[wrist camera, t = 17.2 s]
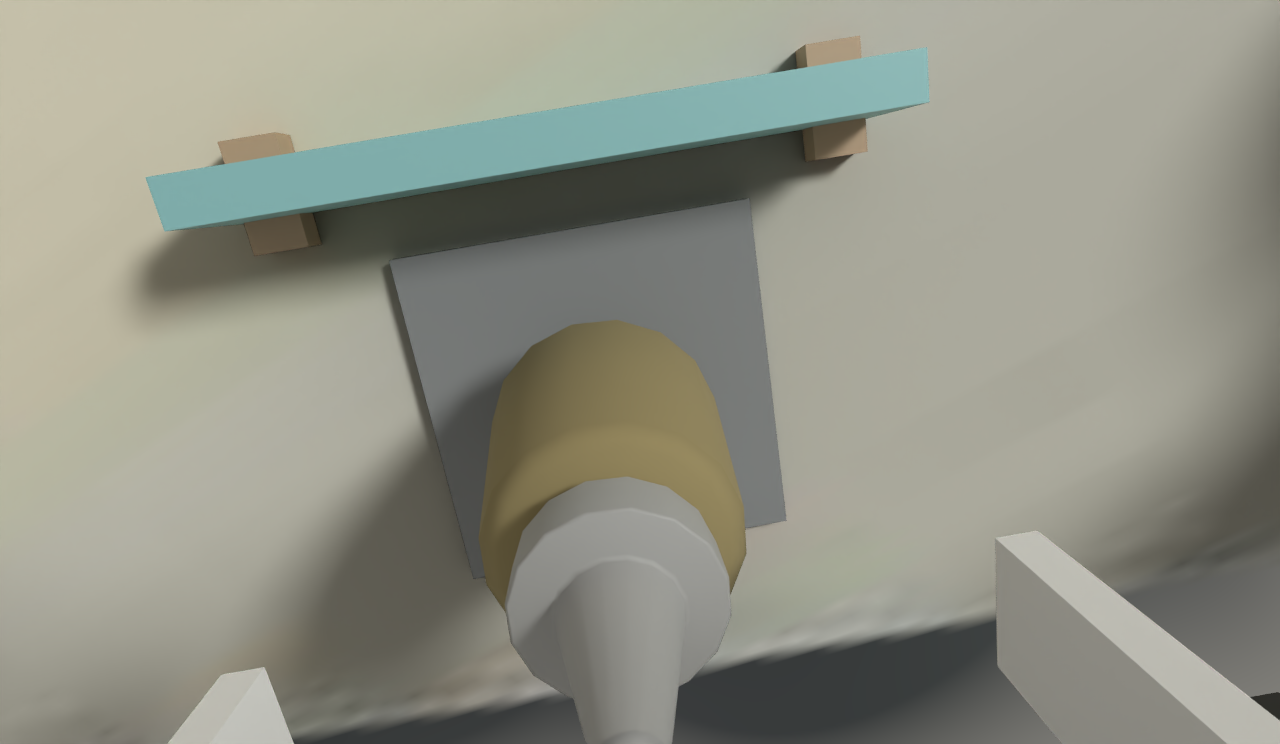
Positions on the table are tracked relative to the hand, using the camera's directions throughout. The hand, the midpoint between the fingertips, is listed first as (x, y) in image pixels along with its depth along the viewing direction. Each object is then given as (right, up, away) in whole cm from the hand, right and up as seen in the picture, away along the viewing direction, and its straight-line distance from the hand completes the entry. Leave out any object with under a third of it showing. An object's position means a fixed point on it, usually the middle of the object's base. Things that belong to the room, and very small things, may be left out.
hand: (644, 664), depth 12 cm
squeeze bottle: (-2, +4, +16) cm, 16 cm away
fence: (-3, +14, +13) cm, 19 cm away
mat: (-2, +4, +16) cm, 17 cm away
